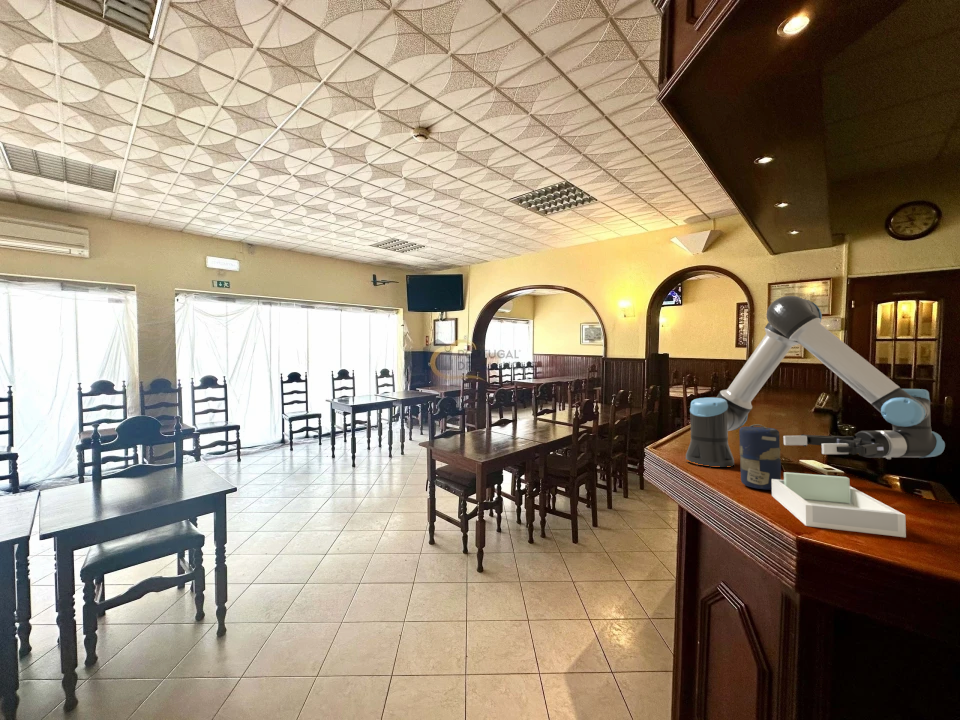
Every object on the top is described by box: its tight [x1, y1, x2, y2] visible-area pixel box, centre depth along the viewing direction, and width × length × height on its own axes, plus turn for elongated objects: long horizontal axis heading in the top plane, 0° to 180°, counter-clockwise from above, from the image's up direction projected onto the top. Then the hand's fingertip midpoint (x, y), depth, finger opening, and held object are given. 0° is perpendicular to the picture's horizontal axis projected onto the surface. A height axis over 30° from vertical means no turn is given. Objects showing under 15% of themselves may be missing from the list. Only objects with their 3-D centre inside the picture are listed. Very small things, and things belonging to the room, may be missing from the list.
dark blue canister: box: [738, 423, 782, 491], centre depth 113 cm, size 10×10×18 cm
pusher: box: [783, 471, 851, 503], centre depth 99 cm, size 2×13×6 cm, turn 69°
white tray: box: [771, 479, 907, 538], centre depth 93 cm, size 22×16×4 cm
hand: (802, 444), depth 113 cm, fingers open, 13 cm apart
